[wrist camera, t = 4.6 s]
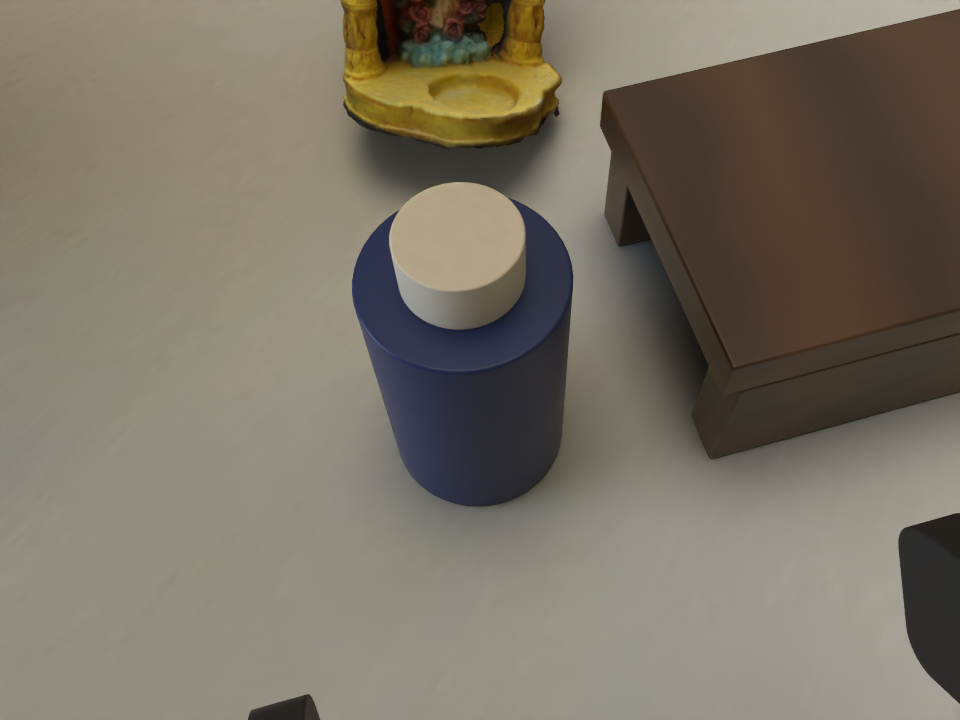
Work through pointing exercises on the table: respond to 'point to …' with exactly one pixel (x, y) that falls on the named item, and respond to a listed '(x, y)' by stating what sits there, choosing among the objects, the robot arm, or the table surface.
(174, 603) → the table surface
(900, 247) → the brown wooden stand
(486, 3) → the shrine
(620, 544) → the table surface
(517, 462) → the bottle
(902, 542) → the robot arm
